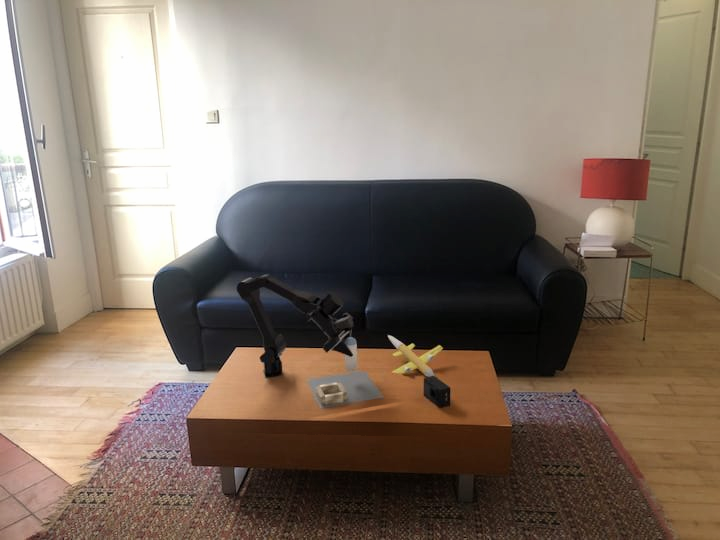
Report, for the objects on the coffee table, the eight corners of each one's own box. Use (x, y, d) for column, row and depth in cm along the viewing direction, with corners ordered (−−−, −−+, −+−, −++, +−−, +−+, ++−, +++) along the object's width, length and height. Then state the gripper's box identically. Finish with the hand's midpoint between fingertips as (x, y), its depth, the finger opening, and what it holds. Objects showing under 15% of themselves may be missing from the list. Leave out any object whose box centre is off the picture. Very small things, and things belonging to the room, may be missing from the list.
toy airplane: (460, 371, 211) (413, 331, 233) (460, 358, 207) (412, 319, 229) (407, 403, 201) (364, 358, 223) (406, 390, 197) (362, 346, 219)
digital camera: (420, 396, 191) (420, 378, 189) (433, 392, 193) (433, 375, 191) (436, 409, 182) (437, 390, 180) (450, 405, 184) (450, 387, 182)
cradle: (321, 405, 184) (321, 397, 183) (315, 393, 193) (315, 385, 192) (347, 401, 187) (347, 393, 186) (340, 389, 195) (340, 381, 194)
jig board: (320, 411, 182) (320, 408, 182) (306, 381, 204) (306, 379, 203) (384, 399, 189) (384, 397, 189) (364, 372, 210) (364, 370, 210)
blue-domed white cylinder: (347, 371, 197) (346, 340, 194) (344, 366, 201) (343, 336, 198) (358, 369, 198) (358, 338, 195) (355, 364, 202) (354, 334, 199)
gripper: (329, 317, 186) (360, 350, 186) (348, 301, 203) (376, 331, 203) (310, 336, 191) (340, 368, 190) (329, 318, 208) (357, 348, 207)
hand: (354, 353), depth 198 cm, fingers closed on blue-domed white cylinder, 4 cm apart
